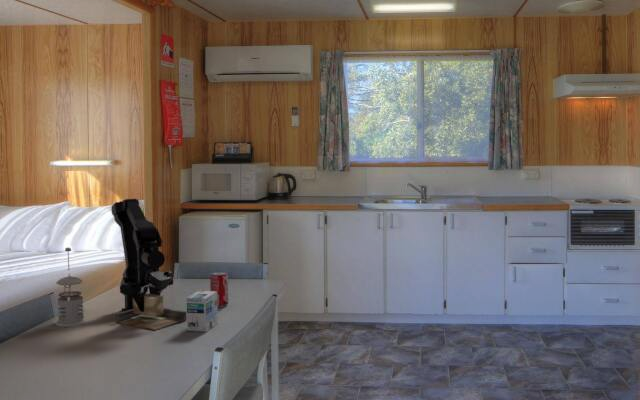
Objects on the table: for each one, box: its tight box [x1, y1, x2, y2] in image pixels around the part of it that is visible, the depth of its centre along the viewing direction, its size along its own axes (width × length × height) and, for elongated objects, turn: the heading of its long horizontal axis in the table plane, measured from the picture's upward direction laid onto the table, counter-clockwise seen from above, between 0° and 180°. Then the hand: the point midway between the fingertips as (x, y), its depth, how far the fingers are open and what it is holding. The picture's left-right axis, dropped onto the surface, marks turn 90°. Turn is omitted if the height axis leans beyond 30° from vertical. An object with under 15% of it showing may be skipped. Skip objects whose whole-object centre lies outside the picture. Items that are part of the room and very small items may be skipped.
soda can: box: [209, 271, 229, 308], centre depth 245 cm, size 6×6×12 cm
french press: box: [55, 247, 87, 328], centre depth 224 cm, size 10×12×25 cm
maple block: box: [133, 292, 164, 317], centre depth 226 cm, size 5×9×6 cm, turn 57°
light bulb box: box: [185, 290, 219, 333], centre depth 217 cm, size 11×7×11 cm, turn 168°
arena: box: [115, 307, 187, 332], centre depth 225 cm, size 18×14×3 cm
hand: (148, 309), depth 227 cm, fingers closed on maple block, 5 cm apart
